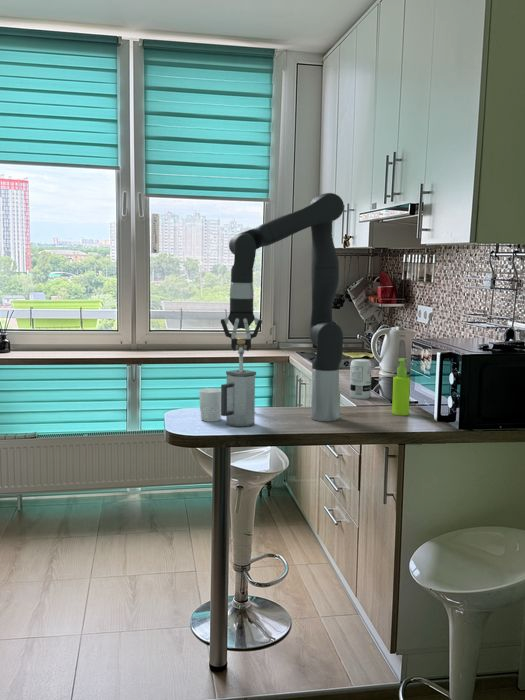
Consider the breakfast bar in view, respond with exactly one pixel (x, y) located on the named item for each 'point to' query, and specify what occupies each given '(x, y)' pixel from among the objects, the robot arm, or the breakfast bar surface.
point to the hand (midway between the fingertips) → (241, 350)
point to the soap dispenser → (401, 390)
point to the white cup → (210, 404)
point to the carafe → (239, 399)
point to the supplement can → (360, 379)
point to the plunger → (241, 351)
